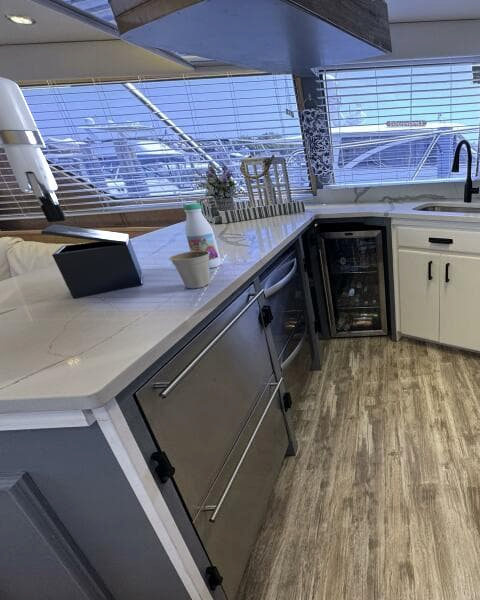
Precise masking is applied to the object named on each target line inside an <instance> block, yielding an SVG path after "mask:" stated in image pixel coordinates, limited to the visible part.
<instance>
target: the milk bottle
mask: <svg viewBox="0 0 480 600" xmlns="http://www.w3.org/2000/svg"><path fill="white" fill-rule="evenodd" d="M182 207H183V210H184V213H185V214H186V220H185V225H184V233H185V236H186V240H187V244H188V247H189V252H191V251H208V252H210V254H209V269H212V268H216V267H219V266H221V265H222V259H221V254H220V250H219V248H218V244H217V240H216V235H215V233H214V230H213V228H212V225H211V224H210V223H209V221H208V220H207V219H206V218H205V216H204V214H203V213H202V206H201V203H199V202H190V203H184V204H183V205H182Z"/></svg>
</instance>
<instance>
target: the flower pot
mask: <svg viewBox="0 0 480 600" xmlns="http://www.w3.org/2000/svg"><path fill="white" fill-rule="evenodd" d="M209 254H210V252H208V251H186V252H181V253H177V254H173V255H171V256H169V257H168V259H169V261H171V262H172V265H174V267H175V268H176V270H177V273H178V274H179V277H180V279H181V281H182V282H183V285H184V287H185V288H186V289H201V288H203V287H206V286H208V285H211V283H212V279H211V271H210V268H209Z"/></svg>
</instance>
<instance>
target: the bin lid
mask: <svg viewBox="0 0 480 600" xmlns="http://www.w3.org/2000/svg"><path fill="white" fill-rule="evenodd" d="M40 234H41V235H46V236H47V235H48V236H55V237H63V238H71V239H79V240H88V241H94V242H97V241H103V242H111V243H120V244H126V243H127V240H128V237H129V234H128V233H121V232H113V231H105V230H99V229H91V228H85V227H84V228H83V227H76V226H68V225H62V224H55V223H54V224H51V225H49V226H47V227H46V228H44V229H42V230H41V231H40Z"/></svg>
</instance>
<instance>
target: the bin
mask: <svg viewBox="0 0 480 600" xmlns="http://www.w3.org/2000/svg"><path fill="white" fill-rule="evenodd" d="M132 244H133V243H132V242H131V239H130V236H128V240H127V243H126V244H120V243H111V242H103V241H90V242H89V241H88V242H82V243H73V244H65V245H62V246H61V247H59V248H58V249H57V250H56V251H55V252H53V253H52V254H51V256H52V258H53V260H54V262H55V264H56V266H57V268H58V270H59V272H60V275H61V276H62V278H63V280H64V282H65V285H66V287H67V289H68V291H69V293H70V295H71V297H72V299H73V300H74V299H80V298H85V297H90V296H91V297H92V296H95V295H101V294H106V293H111V292H116V291H122V290H127V289H133V288H136V287H137V288H138V287H142V286H143V284H144V283H143V282H144V273H143V270H142V269H141V266H140V263H139V260H138V257H137V255H136V253H135V250H134V247H133V245H132Z"/></svg>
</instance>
